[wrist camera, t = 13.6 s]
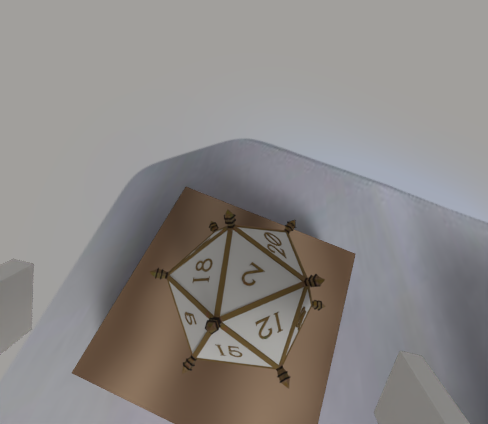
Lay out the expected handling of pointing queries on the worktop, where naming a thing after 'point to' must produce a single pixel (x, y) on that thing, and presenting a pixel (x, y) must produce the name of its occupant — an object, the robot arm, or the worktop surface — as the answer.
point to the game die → (242, 296)
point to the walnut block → (208, 372)
